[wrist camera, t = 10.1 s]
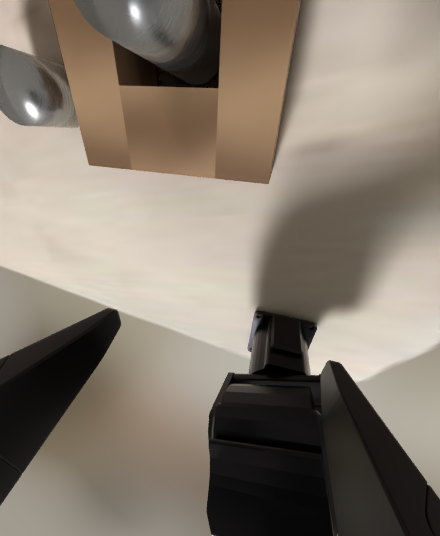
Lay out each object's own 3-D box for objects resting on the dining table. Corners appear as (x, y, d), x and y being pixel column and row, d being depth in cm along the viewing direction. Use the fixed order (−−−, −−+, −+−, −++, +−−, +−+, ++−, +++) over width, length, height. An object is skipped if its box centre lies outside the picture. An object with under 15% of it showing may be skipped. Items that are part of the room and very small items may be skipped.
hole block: (271, 173, 16) (268, 184, 12) (128, 159, 18) (89, 165, 14) (336, -205, 9) (378, -468, 5) (80, -155, 11) (-29, -311, 7)
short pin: (92, 129, 18) (48, 127, 14) (52, 126, 18) (1, 123, 15) (78, 63, 15) (22, 43, 12) (33, 63, 16) (-31, 44, 13)
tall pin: (224, 85, 14) (172, 39, 7) (168, 84, 15) (75, 41, 8) (229, -8, 12) (163, -187, 5) (163, -4, 13) (33, -159, 6)
